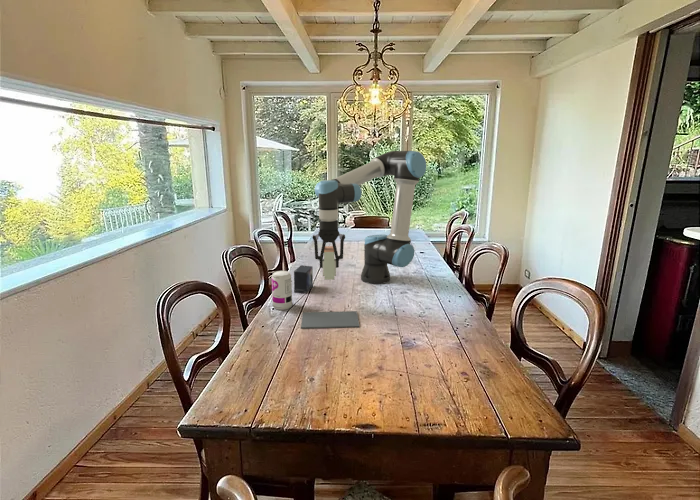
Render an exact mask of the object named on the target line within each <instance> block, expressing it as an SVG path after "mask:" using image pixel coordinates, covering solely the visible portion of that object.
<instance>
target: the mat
mask: <svg viewBox="0 0 700 500" xmlns="http://www.w3.org/2000/svg"><path fill="white" fill-rule="evenodd" d="M358 316H359V315H358V312H357V310H351V311H350V310H349V311H345V310H344V311H342V310H340V311H307V312H304V311H303V312H302V316H301V324H300V329H301V330H302V329H307V330H309V329H343V328H346V329H347V328H349V329H350V328H360V322H359V317H358Z"/></svg>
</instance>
